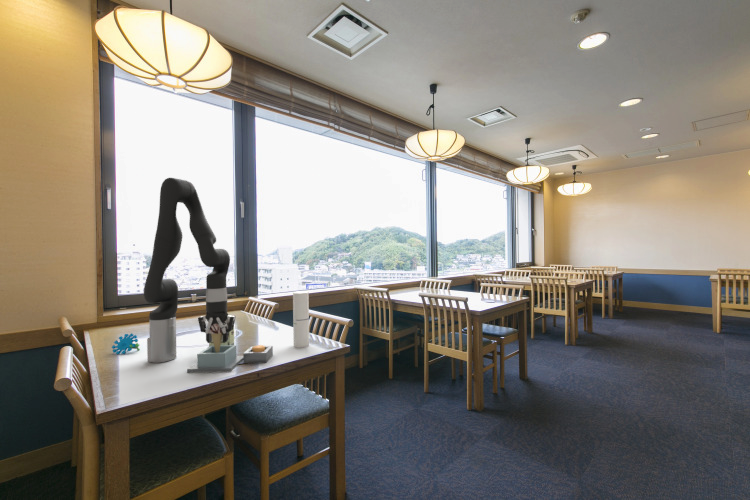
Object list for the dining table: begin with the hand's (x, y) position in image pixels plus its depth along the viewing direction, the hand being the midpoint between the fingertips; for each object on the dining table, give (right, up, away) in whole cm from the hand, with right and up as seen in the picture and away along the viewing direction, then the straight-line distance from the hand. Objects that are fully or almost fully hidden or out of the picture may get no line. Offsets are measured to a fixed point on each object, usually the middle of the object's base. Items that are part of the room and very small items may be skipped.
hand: (217, 342), depth 127 cm
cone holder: (0, -9, 0) cm, 9 cm away
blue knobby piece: (-49, -10, +17) cm, 53 cm away
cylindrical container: (+27, -9, +25) cm, 38 cm away
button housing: (+14, -9, +6) cm, 18 cm away
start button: (+14, -7, +7) cm, 17 cm away
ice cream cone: (0, -7, 0) cm, 7 cm away
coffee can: (-5, -9, +15) cm, 18 cm away
